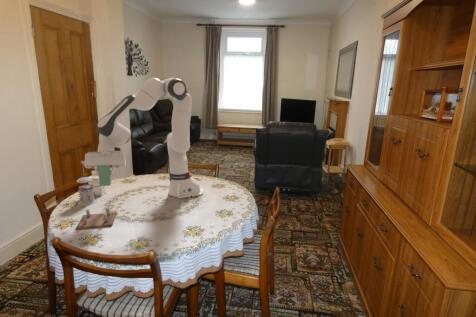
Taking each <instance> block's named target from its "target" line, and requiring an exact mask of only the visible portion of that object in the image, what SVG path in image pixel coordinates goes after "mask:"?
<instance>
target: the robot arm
mask: <svg viewBox="0 0 476 317" xmlns="http://www.w3.org/2000/svg"><path fill="white" fill-rule="evenodd" d="M162 96H165V97H168V98H172V99H173V100H172V101H173V108H172V113H171V114H172V116H171V122H170V123H171V132H169V133H168V134H167V136H166V144H167V145H166V146H167V152H168V160H169V172H168V178H169V188H168V192H167V194H168V195H169V196H171V197H175V198H177V199H185V198H191V196H192V197H197V196H202V195H204V193H203V192H204V189H203V187H201V186H200V183H199V181H198V180H197V179H195V178H194V177H193V174H192V172H191V171H189V170H188V169H189V168H188V157H187V152H188V151H189V150H190V149H191V141H190V139H191V136H190V135H191V134H190V133H191V132H190V131H191V130H190V129H191V127H190V126H191V119H192V118H191V117H192V110H193V97H192V94H190V93H188V90H187V85H186V83H185V82H184V81H183V80H182V79H180V78H176V77H165V78H163V79H159V78H157V77H151V78H149V79H148V80H146V81H145V83H144V84H143V85H142V86H141V87H140V88H139V90H137V92H136V93H134V94H129V95H127V96H125V97H124V98H123V99H122V100H120V102H119V103H118V104H116V105H115V106H114V107H113V108H112V109H111V111H109V112H108V113H107V114H105V115H104V116H103V117H102V118H100V119H99V121H98V122H97V124H96V127H97V131H98V133H99V137H98V146H97V151H88V152H86V153H85V155H84V160H83V161H84V163H83V167H84V168H85V169H94V171H96V175H99V170H98V167H99V166H110V172H109V174H110V175H111V176H113V175H114V172H115V171H116V170H117V169H118V168H120V169H121V168H122V169H123V168H125V167H127V161H126V159H127V158H126V156H125V152H124V149H123V148H122V147H119V146H122V145H125V144H127V143H129V141H130V140H131V137H132V131H131V129H129V128H128V127H126V126H125V125H123V124H121V123H120V122H119V121H118V120H119V119H120V118H121V117H122V116H123V115H124V114H125V113H126V112H127V111H129V110H133V109H135V110H139V111H144V112H145V111H150V110H151V109H152V108H153V107H155V105H156V104H157V103H158V101H159V99H160V98H161V97H162ZM116 168H117V169H116Z"/></svg>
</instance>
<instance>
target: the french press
mask: <svg viewBox="0 0 476 317" xmlns="http://www.w3.org/2000/svg"><path fill="white" fill-rule="evenodd" d="M84 161H85V160H81V161H80V164H82V165H84ZM82 171H83V174H85V171H84V168H82ZM90 181H92V178H90V177H89V176H82V177H80V178H78V179H77V180H76V182H77V183H78V184H82V185H80V186H78V190H77V191H78V199H79V202H77V205H78V206H82V207H84V206H91V205H94V204H96V203H97V200H96V199H95V195H94V193H93V192H94V191H93V187H92V185H88V182H90ZM89 190H90V191H89ZM95 202H96V203H95Z"/></svg>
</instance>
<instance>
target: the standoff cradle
mask: <svg viewBox="0 0 476 317" xmlns="http://www.w3.org/2000/svg"><path fill="white" fill-rule="evenodd" d="M105 210H106V211H105V213H104V212H103V213H92V214H91V213H90V209H86V210H85V212H86V214H83V215H82V216H81V218H80V220H79V221H78V224H77V225H76V227H75V229H76V231H77V230H88V229H96V228H97V229H98V228H108V227H113V224H114V222H115V219H116V216H117V211H115V212H110V207H106V208H105Z"/></svg>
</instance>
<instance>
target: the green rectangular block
mask: <svg viewBox="0 0 476 317" xmlns="http://www.w3.org/2000/svg"><path fill="white" fill-rule="evenodd" d="M97 171H99V183H100V186H105V187H107V186H111V185H112V177H111V176H112V175H110V174H109V172H110V171H111V168H110V166H99V167H98V170H97Z"/></svg>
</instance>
